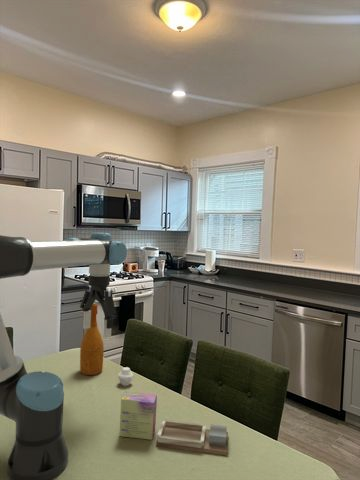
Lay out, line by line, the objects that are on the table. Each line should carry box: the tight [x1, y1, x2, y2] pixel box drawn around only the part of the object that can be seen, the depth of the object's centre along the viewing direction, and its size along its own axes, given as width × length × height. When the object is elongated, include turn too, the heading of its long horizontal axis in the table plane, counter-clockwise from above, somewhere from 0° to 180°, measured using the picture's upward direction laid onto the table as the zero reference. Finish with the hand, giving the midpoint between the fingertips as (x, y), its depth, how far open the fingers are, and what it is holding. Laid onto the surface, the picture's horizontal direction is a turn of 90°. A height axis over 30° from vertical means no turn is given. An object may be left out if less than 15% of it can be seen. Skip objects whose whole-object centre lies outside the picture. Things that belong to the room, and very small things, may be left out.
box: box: [119, 391, 158, 441], centre depth 113 cm, size 10×6×12 cm, turn 84°
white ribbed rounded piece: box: [117, 366, 134, 387], centre depth 146 cm, size 6×6×7 cm
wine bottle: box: [79, 303, 105, 376], centre depth 156 cm, size 10×10×30 cm
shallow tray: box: [155, 419, 229, 456], centre depth 110 cm, size 10×21×4 cm, turn 81°
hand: (96, 332), depth 132 cm, fingers open, 13 cm apart
